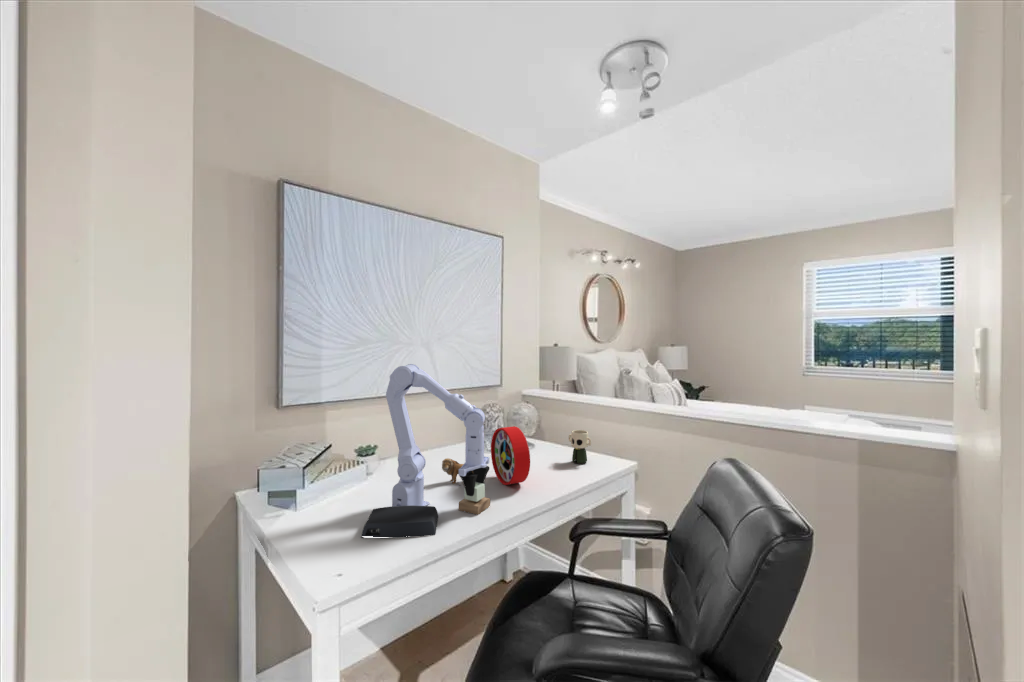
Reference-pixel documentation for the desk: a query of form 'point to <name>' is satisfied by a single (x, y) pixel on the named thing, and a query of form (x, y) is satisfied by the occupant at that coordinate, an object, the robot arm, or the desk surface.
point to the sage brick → (477, 492)
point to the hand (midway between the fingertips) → (474, 492)
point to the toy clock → (510, 455)
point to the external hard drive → (401, 521)
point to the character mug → (579, 445)
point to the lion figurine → (451, 468)
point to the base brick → (474, 505)
